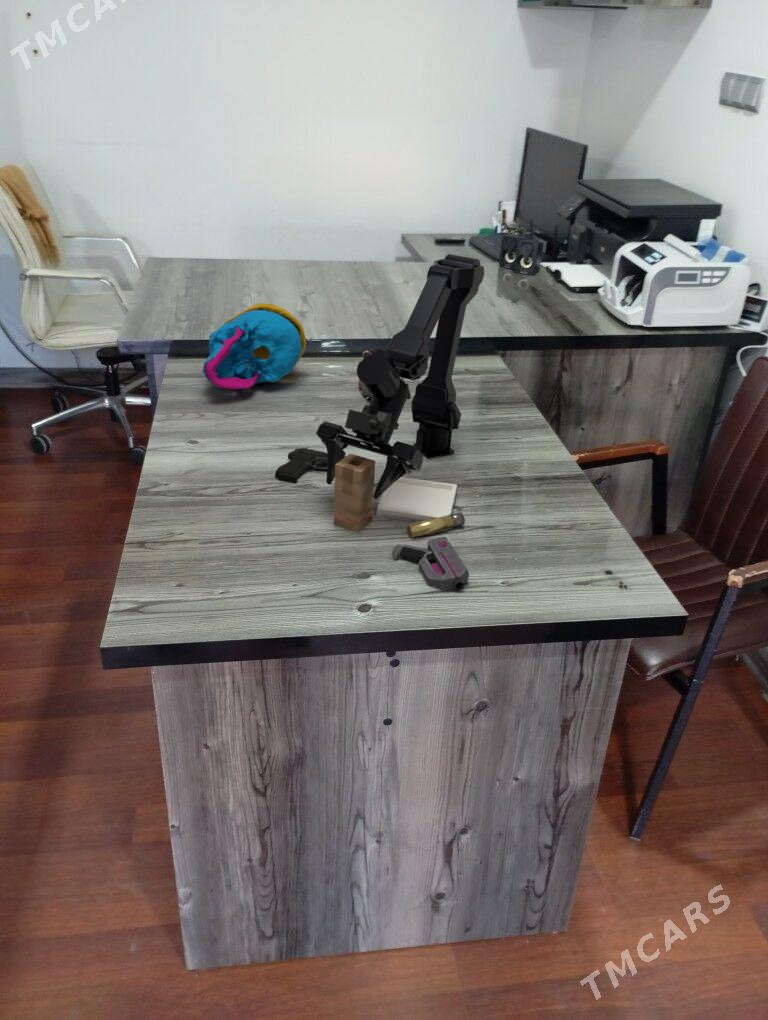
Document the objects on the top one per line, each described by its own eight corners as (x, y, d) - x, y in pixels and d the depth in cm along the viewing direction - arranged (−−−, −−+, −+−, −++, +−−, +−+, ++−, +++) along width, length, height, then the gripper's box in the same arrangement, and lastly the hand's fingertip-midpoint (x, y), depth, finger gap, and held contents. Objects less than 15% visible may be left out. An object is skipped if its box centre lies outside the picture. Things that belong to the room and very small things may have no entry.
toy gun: (415, 605, 130) (474, 590, 132) (414, 588, 128) (475, 574, 130) (388, 555, 141) (443, 543, 143) (387, 539, 139) (443, 527, 141)
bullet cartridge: (456, 521, 149) (458, 509, 148) (464, 527, 148) (465, 516, 146) (406, 533, 145) (407, 521, 144) (413, 540, 143) (414, 528, 142)
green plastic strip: (632, 587, 134) (622, 589, 133) (631, 590, 134) (621, 592, 134) (609, 566, 139) (599, 568, 138) (608, 570, 139) (598, 572, 139)
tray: (389, 482, 161) (389, 475, 160) (456, 491, 159) (457, 484, 158) (376, 516, 150) (377, 509, 149) (448, 526, 148) (449, 519, 147)
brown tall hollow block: (347, 512, 150) (349, 453, 144) (372, 520, 148) (375, 460, 142) (333, 525, 146) (334, 464, 140) (358, 533, 144) (361, 472, 138)
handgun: (359, 487, 156) (373, 456, 166) (273, 471, 158) (292, 441, 168) (358, 499, 157) (372, 468, 167) (273, 483, 160) (291, 453, 169)
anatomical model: (217, 416, 187) (213, 385, 209) (323, 382, 189) (308, 355, 211) (190, 342, 179) (189, 318, 201) (300, 308, 181) (287, 288, 204)
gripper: (322, 377, 142) (286, 460, 139) (421, 402, 135) (386, 489, 132) (344, 405, 152) (311, 482, 149) (437, 429, 145) (404, 511, 142)
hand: (351, 490), depth 143 cm, fingers open, 9 cm apart
